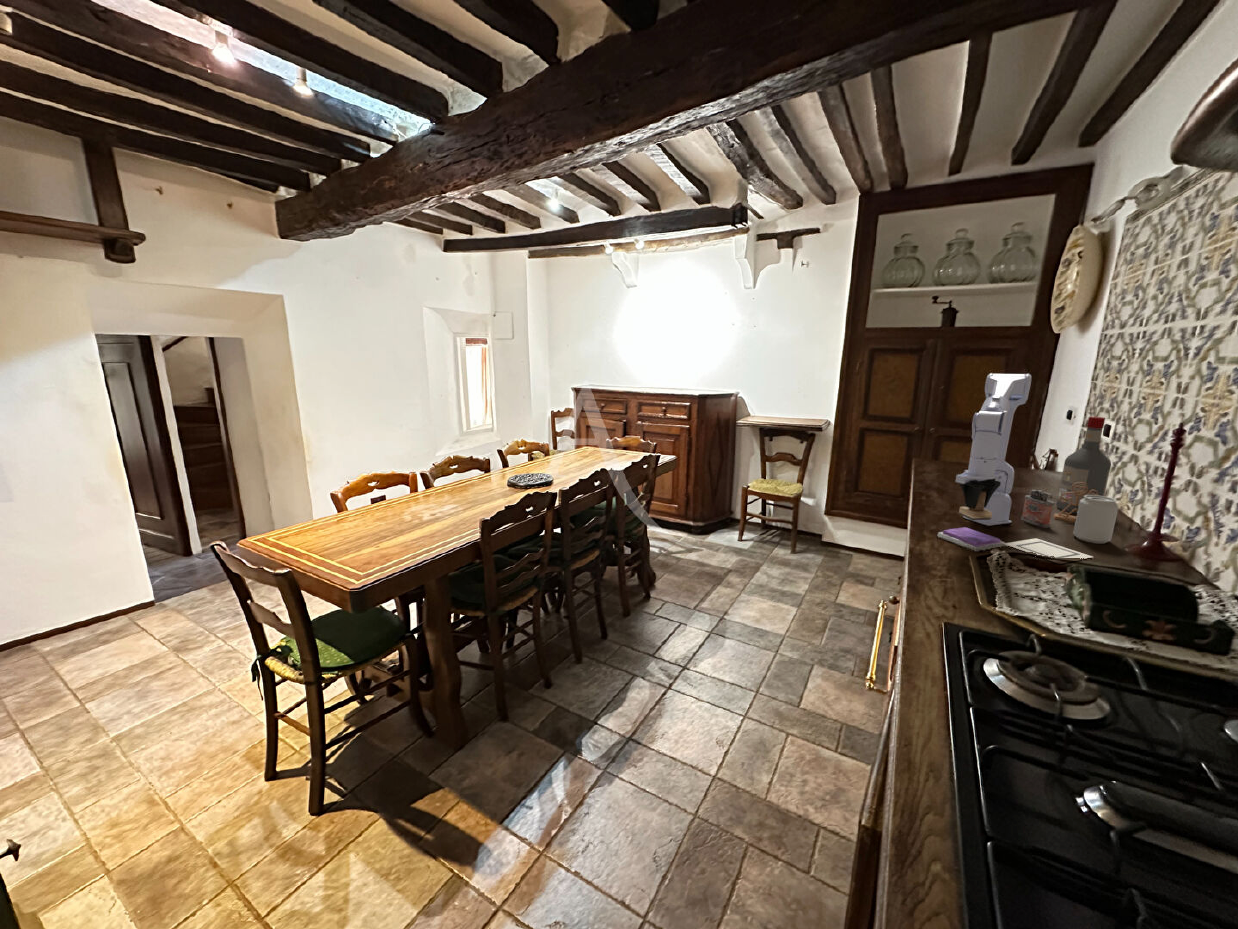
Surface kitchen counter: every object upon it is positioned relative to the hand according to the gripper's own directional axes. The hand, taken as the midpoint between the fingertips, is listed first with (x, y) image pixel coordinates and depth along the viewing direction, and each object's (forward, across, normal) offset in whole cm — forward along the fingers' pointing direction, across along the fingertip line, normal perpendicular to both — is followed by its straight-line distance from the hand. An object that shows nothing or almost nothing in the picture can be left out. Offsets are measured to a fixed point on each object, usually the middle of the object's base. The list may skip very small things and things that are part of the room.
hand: (975, 506), depth 128 cm
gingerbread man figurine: (+10, -45, -3) cm, 46 cm away
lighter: (+10, -32, -5) cm, 34 cm away
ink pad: (+10, 0, 0) cm, 10 cm away
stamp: (+3, 0, 0) cm, 3 cm away
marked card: (+10, -12, +11) cm, 19 cm away
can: (+10, -32, +9) cm, 35 cm away
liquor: (+10, -57, -9) cm, 59 cm away
